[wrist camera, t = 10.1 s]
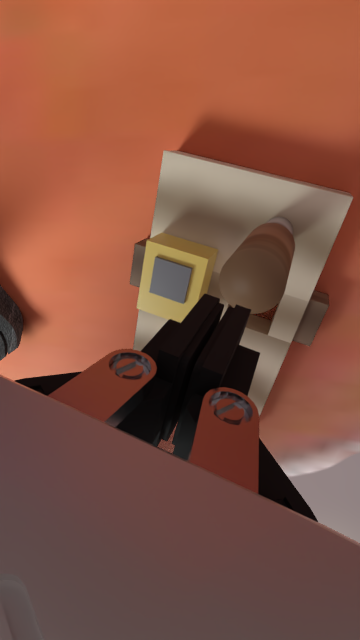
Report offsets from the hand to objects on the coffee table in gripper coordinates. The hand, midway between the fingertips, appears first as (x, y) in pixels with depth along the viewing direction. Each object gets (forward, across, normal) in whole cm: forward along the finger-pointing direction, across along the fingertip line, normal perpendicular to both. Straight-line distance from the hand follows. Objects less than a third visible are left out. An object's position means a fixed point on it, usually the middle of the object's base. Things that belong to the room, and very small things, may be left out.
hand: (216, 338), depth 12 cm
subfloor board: (+20, +3, +9) cm, 22 cm away
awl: (+17, 0, 0) cm, 17 cm away
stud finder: (+16, +6, +5) cm, 18 cm away
